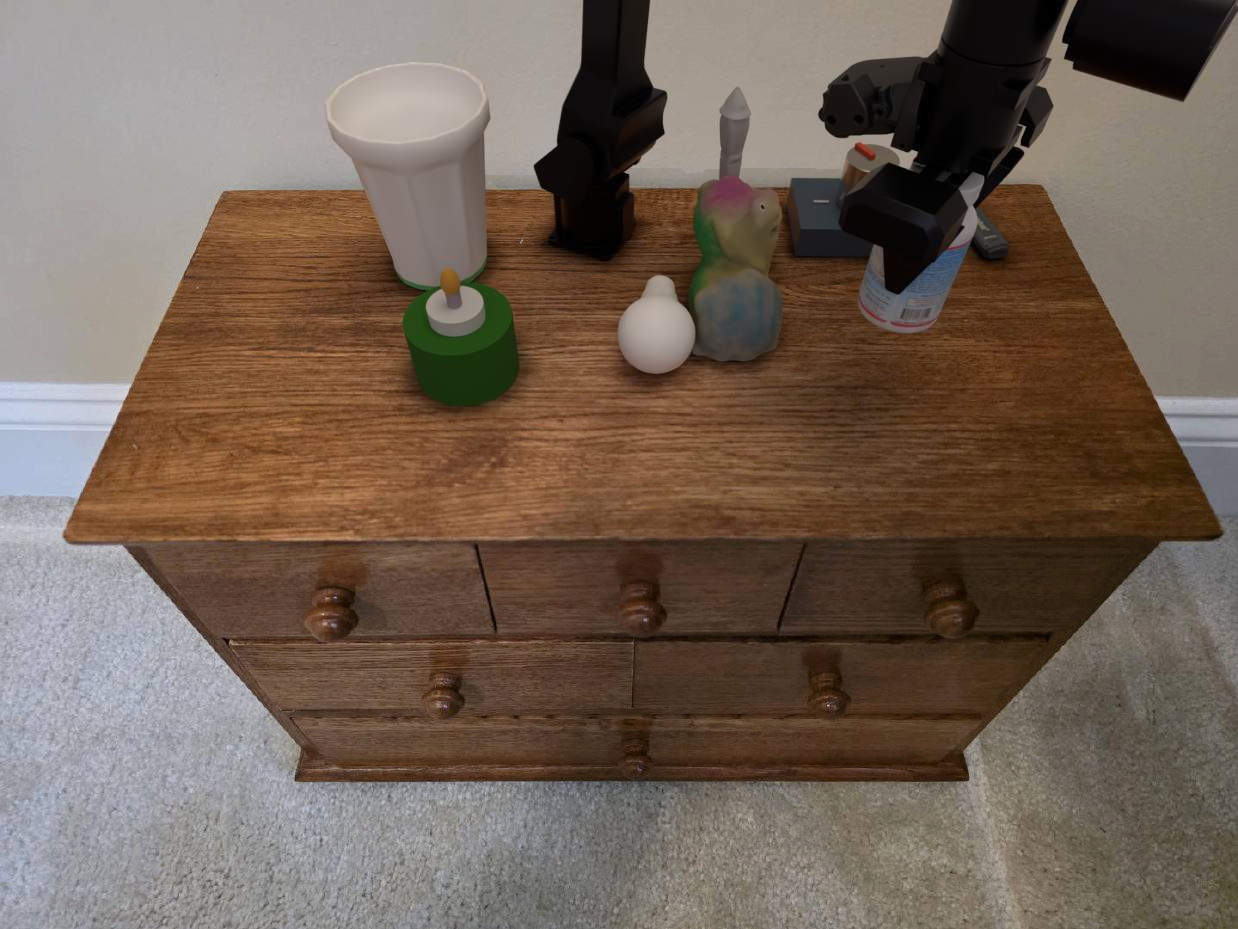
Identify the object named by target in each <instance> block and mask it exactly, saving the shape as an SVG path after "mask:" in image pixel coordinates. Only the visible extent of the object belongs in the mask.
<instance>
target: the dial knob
mask: <svg viewBox="0 0 1238 929" xmlns="http://www.w3.org/2000/svg"><path fill="white" fill-rule="evenodd" d="M888 162H890V163H892V164H895V165H898V166H900V163H901V160H900V157H899V155H898V154H897V153H896V151H894V150H892V149H891V148H888V147H886V146H884V145H879V144H875V143H874V144H873V143H862V142H861V141H859V142H855V144H854V146H853V147H852V148H850V149H849V150H848V152H847V153H846V156H845V161H844V164H843V168H842V169H843V170H842V172H841V177H840V178H841V181H840V185H839V189H838V193H837V197H836V201H837V204H838V206H839V207H840V208H841V209H842V205H843V201H844V197H845V196H846V195H847V194H848V193H849V192H850V191H851V190H852V189H853V188H854V187H855V186H856V185H857V184H858V183H859V182H860V181H861V180H862V179H863V178H864V177H865V176H866V175H867V174H868V173H869V172H870V171H871V170H873V169H875V168H877V167H879V166H882V165H884V164H886V163H888Z"/></svg>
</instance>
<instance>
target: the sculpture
mask: <svg viewBox="0 0 1238 929" xmlns="http://www.w3.org/2000/svg"><path fill="white" fill-rule="evenodd" d="M692 217H693V218H692V228H693V233H694V234H693V235H694V237H695V240H696V242H697V245H698V248H699V251H700V253H701V258H700V261H699V263H698V265H697V266H696V268H695V270H694V272H693V276H692V280H691V282H690V286H689V290H688V297H687V298H688V308H689V314H690V315H691V318H692V320H693V323H694V326H695V342H694V346H693V348H692V351H691V353H692V354H693V355H695V356H697V357H707V358H710V359H712V360H714V361H716V362H721V363H723V362H728V361H739V362H749V361H752V360H754V359H756V358H757V357H759V356H760V355H762V354H765V353H769V352H772V351H774V350H775V349H776V347H777V346H778V342H779V338H780V336H779V335H780V332H781V329H782V326H783V316H784V315H783V302H784V297H783V293H782V291H781V289H780V288H779V287H778V285H777V284H776V283H775V282H774V281H773V280H772V279H771V278H769V271H770V268H771V262H772V259H773V256H774V253H775V250H776V248H777V244H778V239H779V236H780V231H781V224H782V220H783V211H782V206H781V204H780V198H779V194H778V192H777V191H776V190H774V189H772V188H767V189H766V188H765V189H760V188H757V187H753V186H751V185H750V184H748V183H747V182H745V181H743V180H742V179H741V178H740V177H739V178H738V177H737V176H735V175H732V174H730V175H726V176H724V177H722V178H721V179H719V178H718V179H710V180H707V181H705V182H704V183H702V185H700V187H699V189H698V192H697V201H696V204H695V208H694V211H693V216H692Z"/></svg>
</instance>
